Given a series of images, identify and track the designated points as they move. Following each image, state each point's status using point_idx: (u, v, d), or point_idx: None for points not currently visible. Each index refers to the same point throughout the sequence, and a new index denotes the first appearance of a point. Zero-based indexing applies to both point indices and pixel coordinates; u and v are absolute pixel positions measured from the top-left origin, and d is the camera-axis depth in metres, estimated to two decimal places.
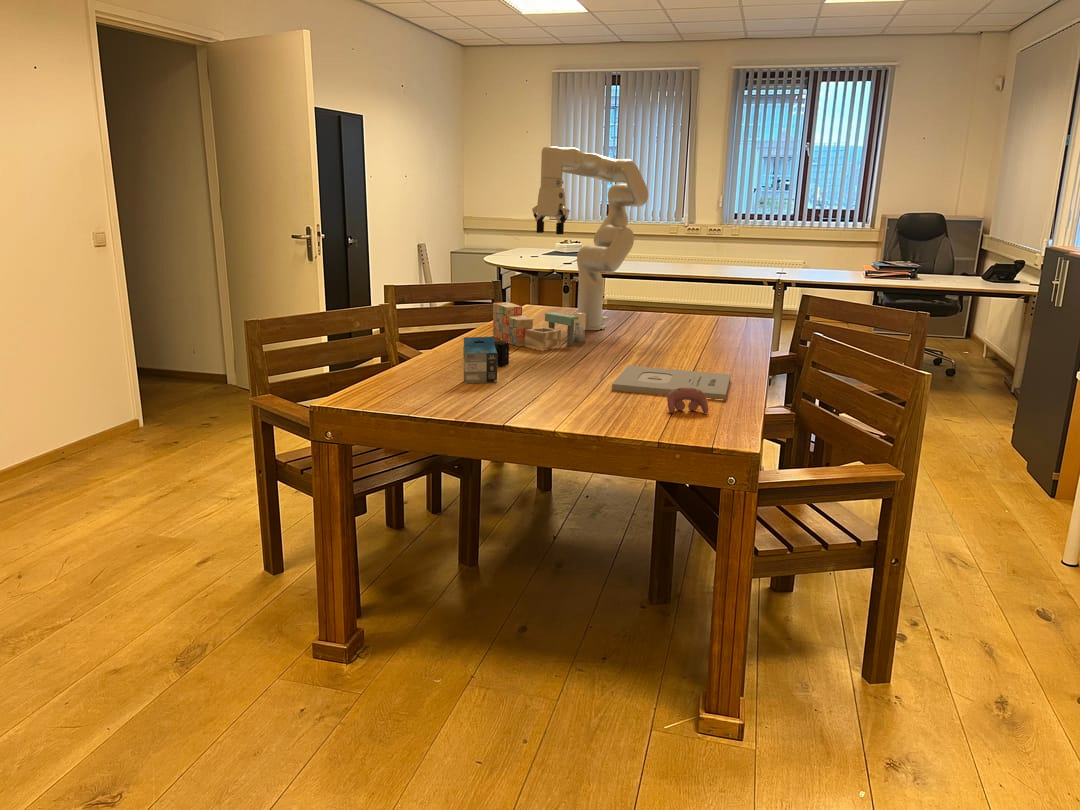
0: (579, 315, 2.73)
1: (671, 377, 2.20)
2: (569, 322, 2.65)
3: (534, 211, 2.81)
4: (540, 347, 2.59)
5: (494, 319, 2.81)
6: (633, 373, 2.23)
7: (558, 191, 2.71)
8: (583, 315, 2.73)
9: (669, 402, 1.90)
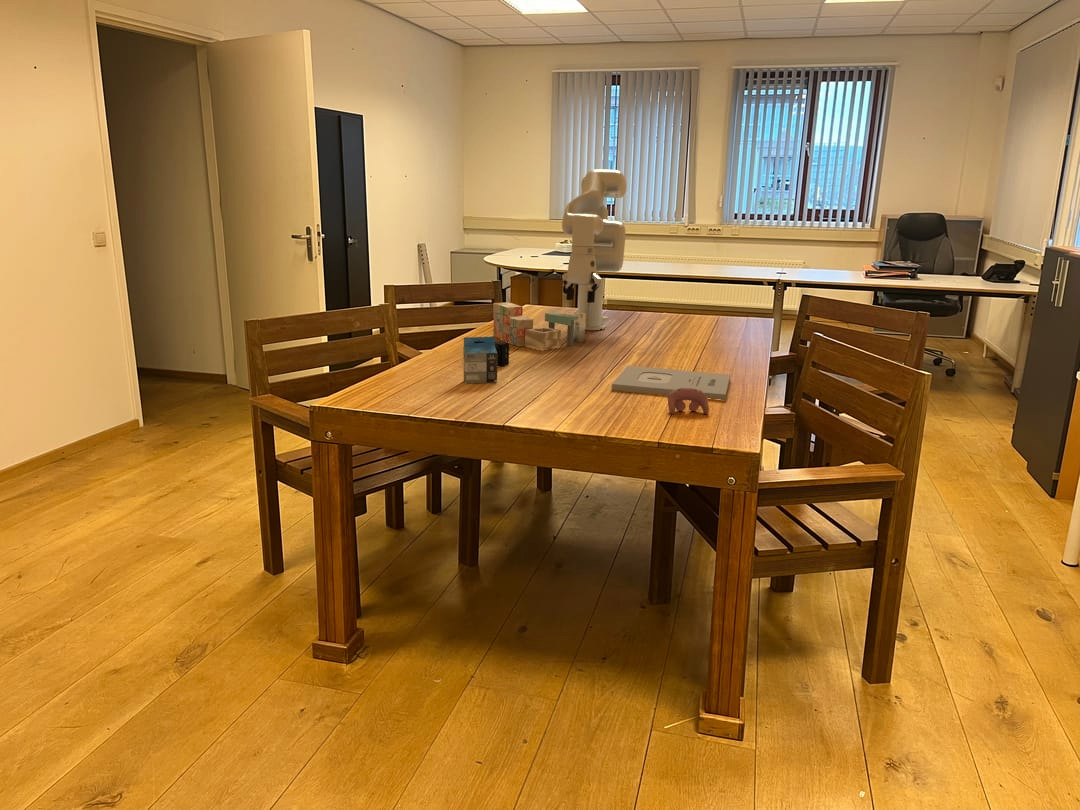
0: (579, 315, 2.73)
1: (671, 377, 2.20)
2: (569, 322, 2.65)
3: (564, 278, 2.76)
4: (540, 347, 2.59)
5: (494, 319, 2.80)
6: (633, 373, 2.22)
7: (590, 259, 2.66)
8: (583, 315, 2.73)
9: (670, 402, 1.89)
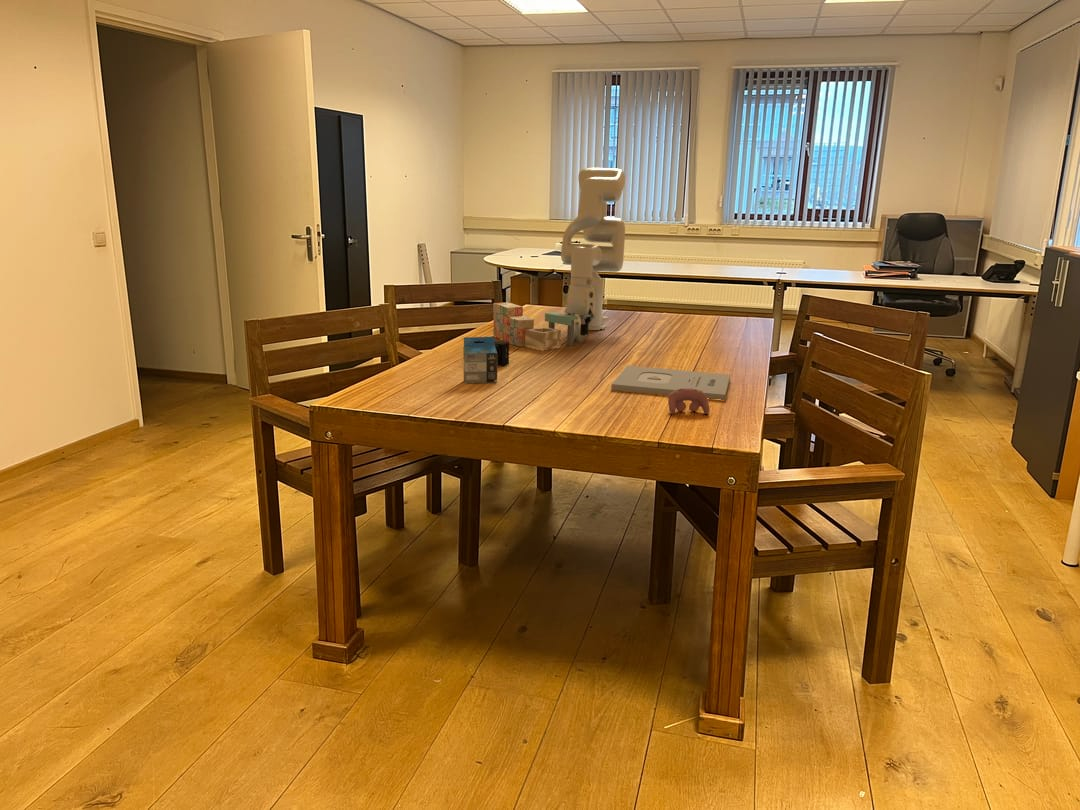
0: (579, 315, 2.73)
1: (671, 377, 2.20)
2: (569, 322, 2.65)
3: (567, 312, 2.78)
4: (540, 347, 2.59)
5: (494, 319, 2.80)
6: (633, 373, 2.22)
7: (588, 291, 2.69)
8: None
9: (670, 403, 1.89)
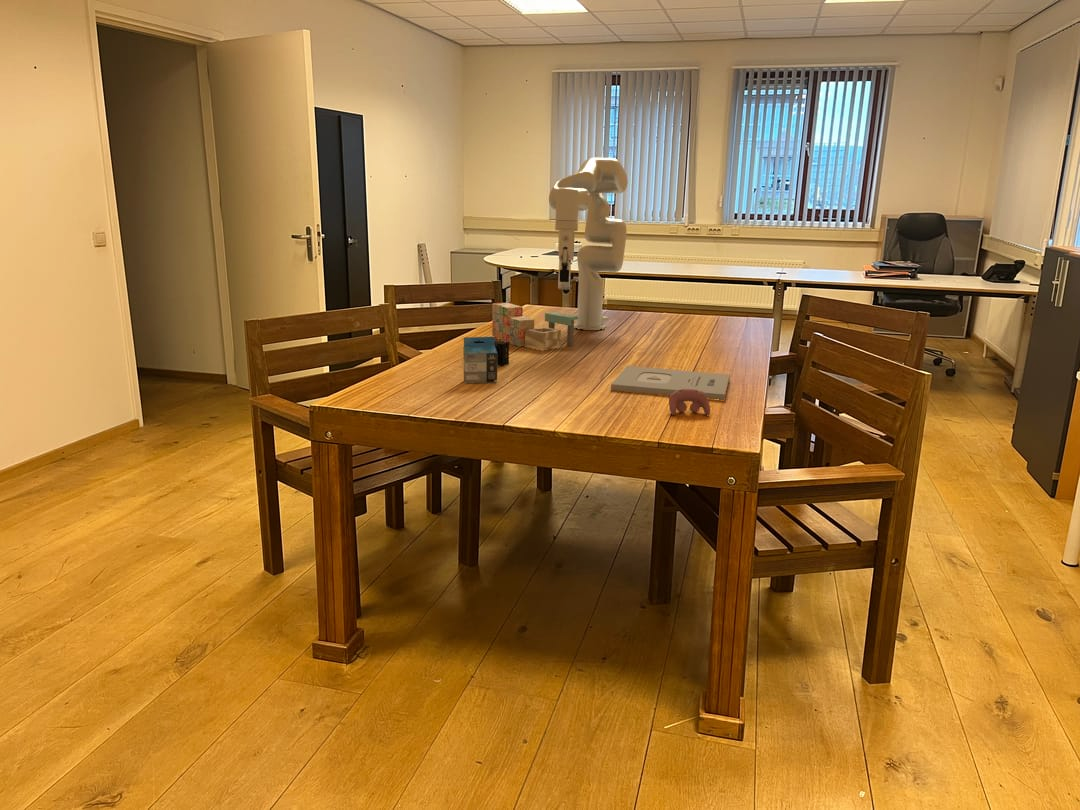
0: None
1: (670, 377, 2.20)
2: (569, 322, 2.65)
3: None
4: (540, 347, 2.59)
5: (493, 320, 2.79)
6: (632, 373, 2.22)
7: (563, 234, 2.57)
8: None
9: (671, 404, 1.88)
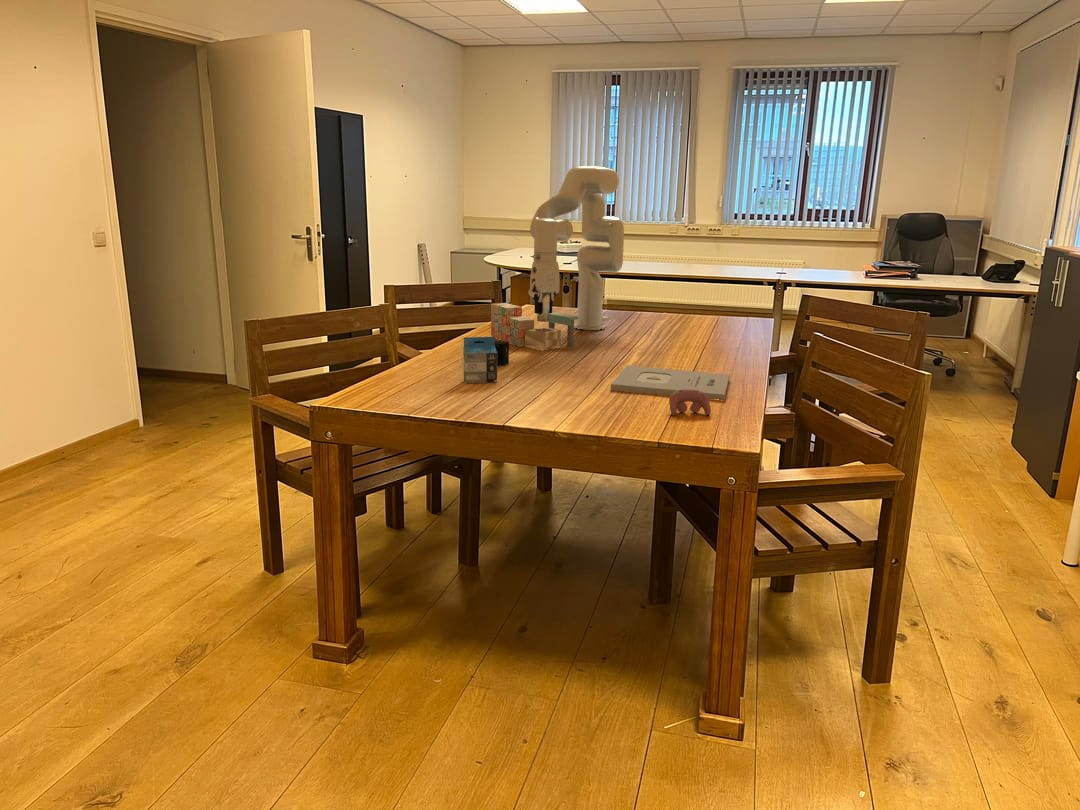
0: None
1: (670, 377, 2.20)
2: (569, 322, 2.65)
3: None
4: (540, 347, 2.59)
5: (492, 320, 2.79)
6: (632, 373, 2.22)
7: (533, 265, 2.54)
8: None
9: (671, 404, 1.88)
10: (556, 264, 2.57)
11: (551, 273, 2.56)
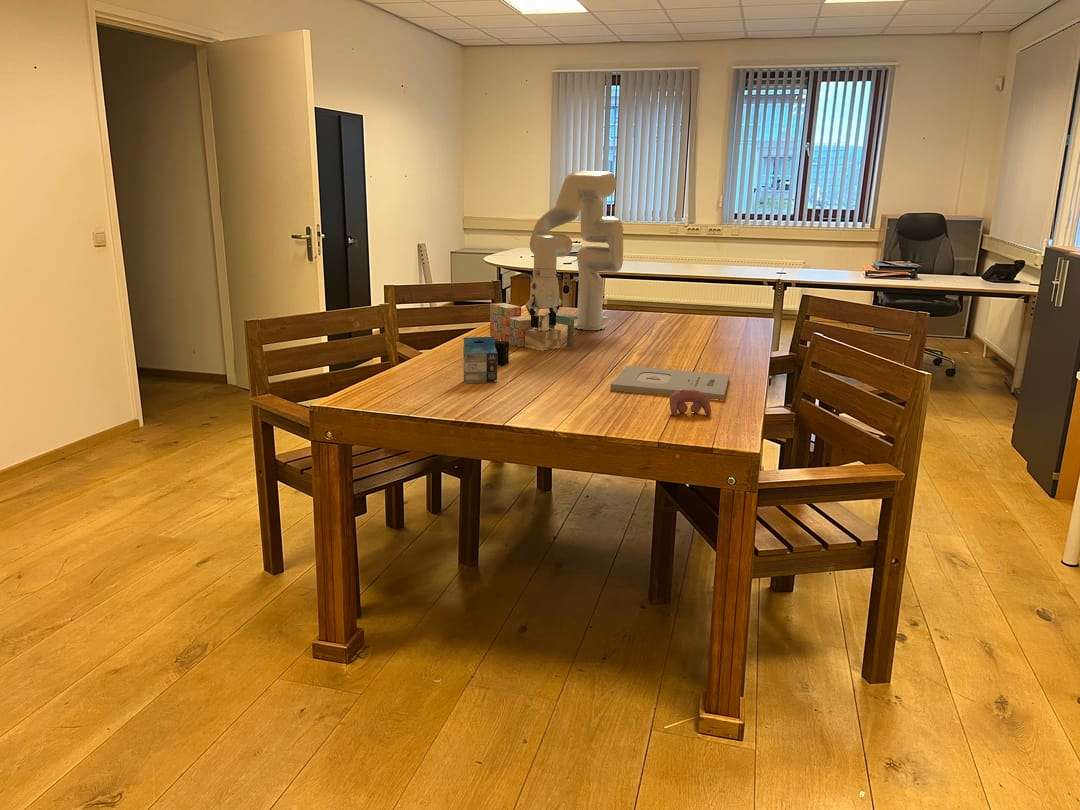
0: None
1: (670, 377, 2.20)
2: (569, 322, 2.65)
3: None
4: (540, 347, 2.59)
5: (491, 320, 2.78)
6: (632, 373, 2.22)
7: (533, 281, 2.56)
8: None
9: (672, 404, 1.88)
10: (556, 280, 2.59)
11: (551, 289, 2.57)
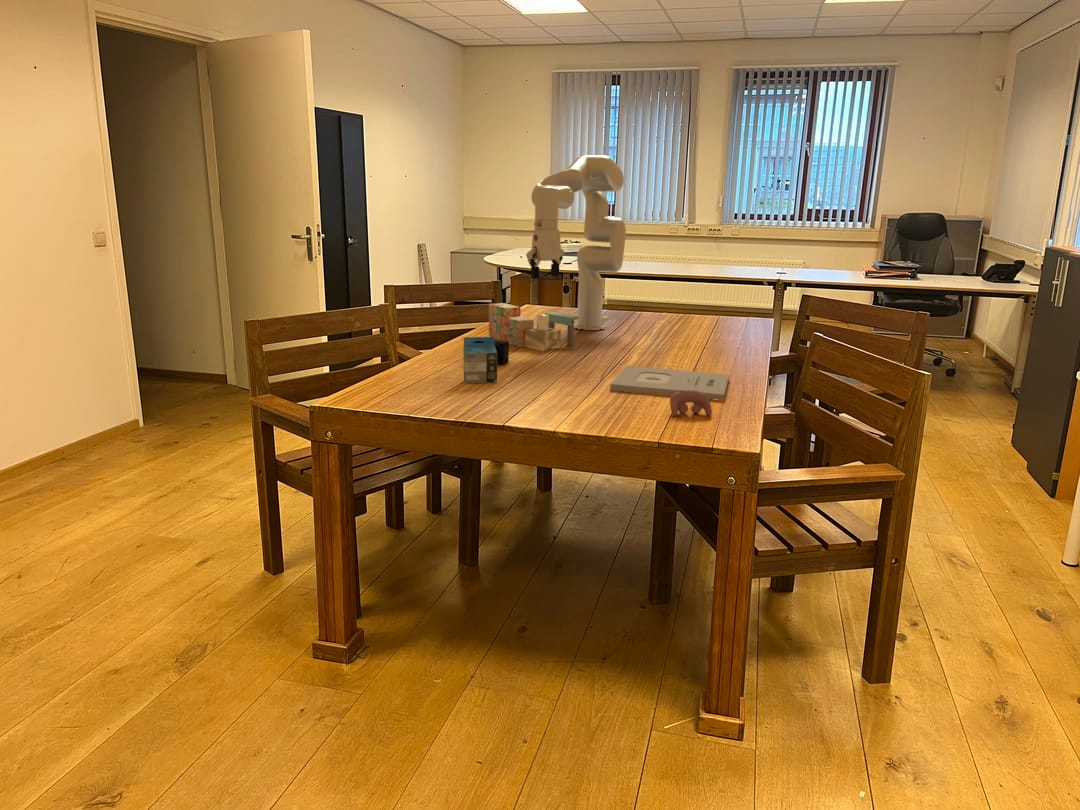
0: (537, 316, 2.62)
1: (669, 377, 2.20)
2: (569, 322, 2.65)
3: None
4: (540, 347, 2.59)
5: (490, 320, 2.78)
6: (631, 373, 2.22)
7: (534, 233, 2.55)
8: (538, 317, 2.60)
9: (672, 405, 1.87)
10: (557, 231, 2.58)
11: (552, 240, 2.57)
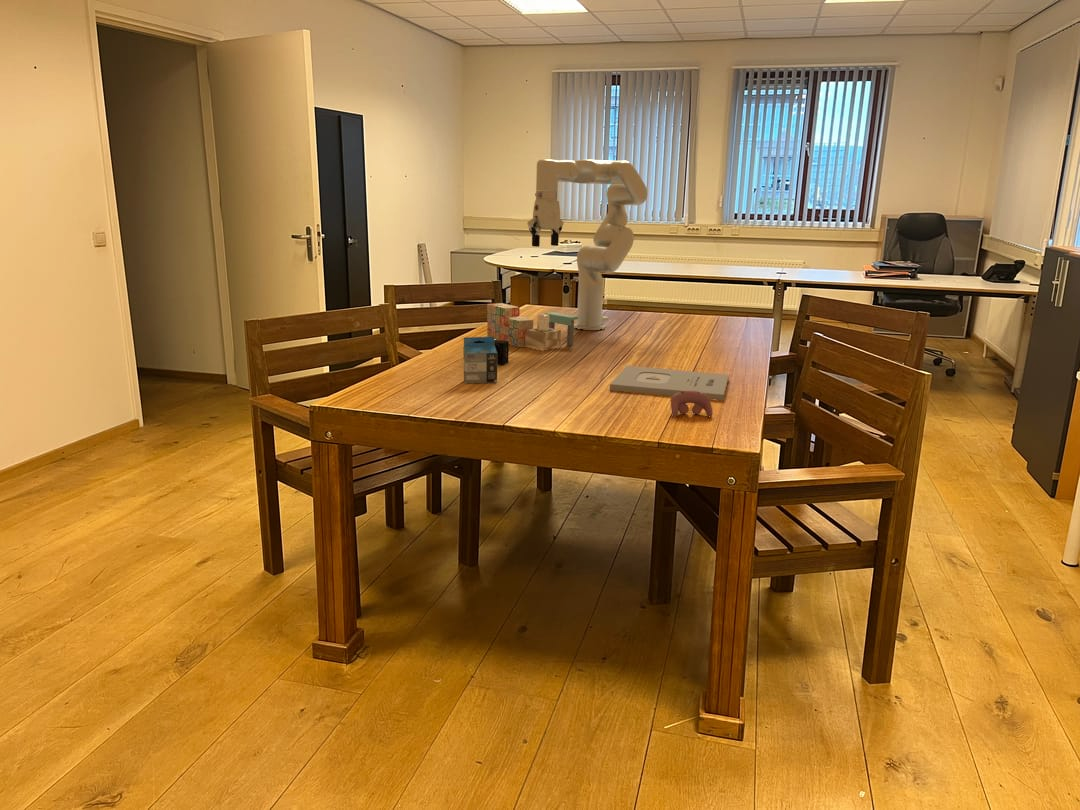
0: None
1: (669, 377, 2.20)
2: (569, 322, 2.65)
3: None
4: (540, 347, 2.59)
5: (489, 320, 2.78)
6: (631, 373, 2.22)
7: (535, 203, 2.72)
8: (539, 316, 2.61)
9: (673, 405, 1.87)
10: (557, 202, 2.74)
11: (552, 211, 2.73)
